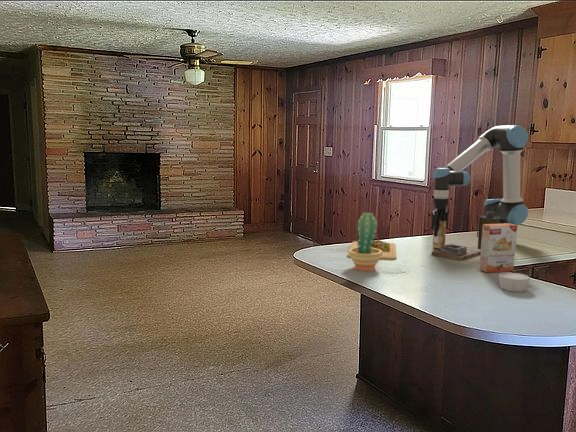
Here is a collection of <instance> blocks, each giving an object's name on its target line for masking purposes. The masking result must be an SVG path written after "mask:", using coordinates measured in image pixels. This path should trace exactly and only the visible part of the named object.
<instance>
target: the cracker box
mask: <svg viewBox="0 0 576 432" xmlns="http://www.w3.org/2000/svg"><path fill="white" fill-rule="evenodd" d="M517 235H518V225H514V224H510V223H505V224H483V228H482V241H481V254H480V255H479V256H480V257H479V267H478V268H479V271H481V272H484V273H490V274H491V273H507V272H514V269H515V258H516V257H515V256H516V247H517Z"/></svg>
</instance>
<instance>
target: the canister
mask: <svg viewBox="0 0 576 432" xmlns="http://www.w3.org/2000/svg"><path fill="white" fill-rule="evenodd" d="M494 213H495V212H486V216H483V215H478V216H477V228H476V237H477V238H478V240H477V248H476V249H481V241H482V228H483V224H500V219H501V218H500V217H497V216H494ZM495 214H496V213H495Z"/></svg>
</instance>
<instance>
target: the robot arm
mask: <svg viewBox="0 0 576 432" xmlns="http://www.w3.org/2000/svg"><path fill="white" fill-rule="evenodd" d="M528 141H529V134H528V131H527V130H526V129H525V127H523V125H516V124H505V125H502V124H501V125H496V126H493V127H491V128H489V129H488V130H486V131H485V132H484V133H482V134H481V135H480V136H479V137H478V138H477V141H474V143H473V144H471V145H470V146H469V147H468V148H466V149H465V150H464V151H463V152H461V153H460V154H459V155H458V156H457V157H455V158H454V159H453V160H451V161H450V162H449V163H448V164H447V165H445V166H444V167H437V168H435V170H434V171H433V173H432V179H433V182H434V184H433V197H434V198H433V202H432V204H433V206H434V210H431V230H432V231H433V230H434V242H436V243H439V231H440V230H439V224H440V221H446V230H447V229H448V226H449V213H450V208H447V206H449V196H450V187H457V186H458V187H459V186H461V187H463V186H464V187H465V186H467V185H469V184H470V183H471V182H470V181H471V175H470V173H469V172H468V171H465V169H466V168H467V167H469V166H470V165H471V164H472V163H473V162H474V161H476V160H477V159H479V158H480V156H482V155H483V154H484V153H486V152H490V151H492V150H493V149H494V148H499V152H501V154H502V171H503V172H502V173H503V175H502V176H503V177H502V178H503V179H502V185H503V186H502V188H503V193H502V194H503V195H502V196H503V197H502V198H491V199H489V198H487V199H485V200H484V203H483V204H484V205H483V215H482V216H486V212H495V213H496V214H495V213H494V216H497V217H500V218H501V219H500V224H505V223H510V224H514V225H517V226H520V225H522V224H523V223H524V222H525V221H526V220H527V218H528V217H529V216H528V215H529V209H528V207H527V206H526V205H524V199H523V198H522V197H521V153H522V152H523V151H524V147H525V146H526V145H527V143H528Z"/></svg>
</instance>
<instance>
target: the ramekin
mask: <svg viewBox="0 0 576 432" xmlns="http://www.w3.org/2000/svg"><path fill="white" fill-rule="evenodd" d="M498 279H499V286H500V288H501V289H503V290H505V291H509V292H514V293H515V292H518V293H521V292H525V291H526V290H527V289H528V284H529V281H530V276H528V275H527V274H523V273H517V272H499V273H498Z"/></svg>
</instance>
